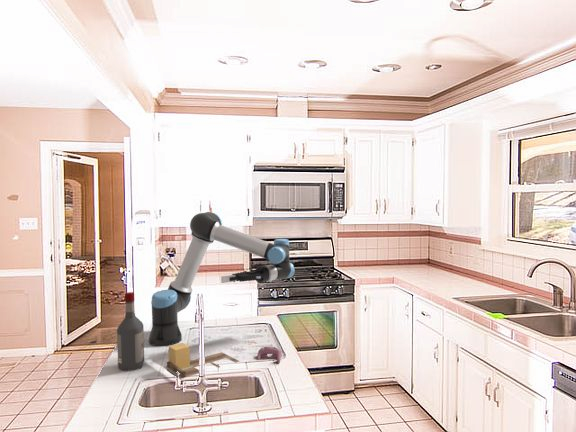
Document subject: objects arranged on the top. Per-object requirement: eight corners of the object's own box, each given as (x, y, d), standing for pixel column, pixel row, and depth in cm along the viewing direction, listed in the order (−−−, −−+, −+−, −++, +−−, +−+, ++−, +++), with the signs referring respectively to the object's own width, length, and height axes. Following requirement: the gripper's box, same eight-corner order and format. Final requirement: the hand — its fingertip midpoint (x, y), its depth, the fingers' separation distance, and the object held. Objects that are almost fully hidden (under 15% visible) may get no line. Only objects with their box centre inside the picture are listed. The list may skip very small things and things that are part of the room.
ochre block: (169, 366, 175) (168, 346, 175) (183, 362, 179) (182, 342, 179) (175, 370, 171) (175, 350, 170) (189, 366, 175) (189, 346, 174)
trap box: (167, 370, 175) (166, 362, 174) (221, 355, 191) (221, 347, 190) (183, 381, 164) (183, 372, 164) (239, 364, 180) (239, 356, 180)
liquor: (145, 361, 185) (143, 290, 183) (140, 370, 176) (138, 295, 174) (122, 362, 184) (120, 291, 182) (116, 371, 175) (114, 296, 173)
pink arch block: (281, 364, 184) (281, 347, 187) (280, 363, 180) (280, 345, 182) (257, 364, 185) (258, 346, 187) (256, 363, 180) (257, 345, 183)
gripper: (273, 283, 205) (229, 290, 190) (257, 279, 215) (214, 285, 200) (273, 267, 204) (229, 273, 190) (257, 264, 215) (214, 269, 200)
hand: (222, 279), depth 195 cm, fingers closed
